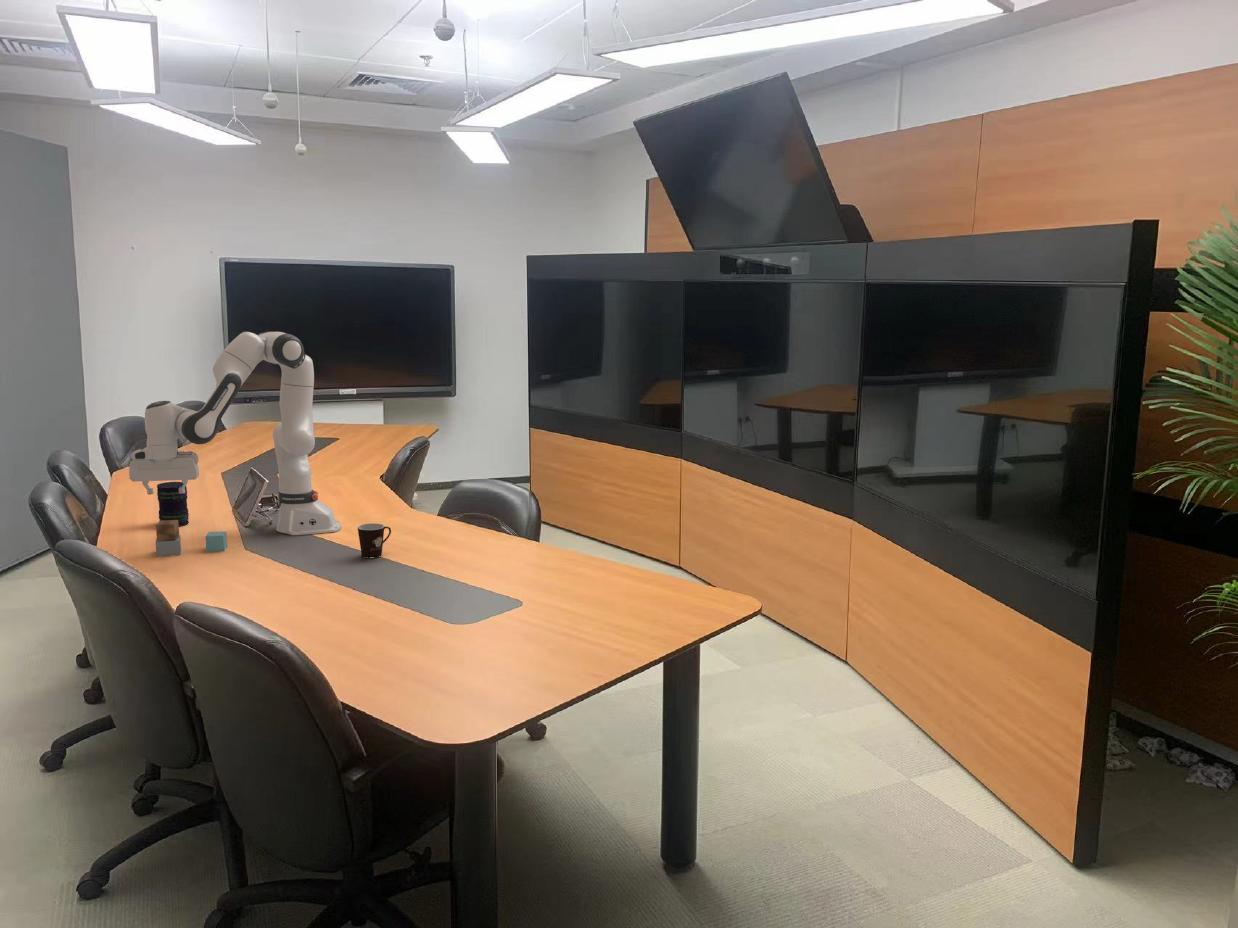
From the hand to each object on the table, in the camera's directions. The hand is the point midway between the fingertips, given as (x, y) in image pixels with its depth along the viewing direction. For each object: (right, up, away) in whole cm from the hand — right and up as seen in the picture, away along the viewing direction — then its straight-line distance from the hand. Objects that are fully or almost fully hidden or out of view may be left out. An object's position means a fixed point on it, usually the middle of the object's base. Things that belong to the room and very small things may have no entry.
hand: (166, 493), depth 293 cm
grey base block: (-1, -20, +3) cm, 20 cm away
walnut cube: (-1, -15, +3) cm, 15 cm away
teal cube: (+13, -19, +9) cm, 24 cm away
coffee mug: (+66, -21, +7) cm, 70 cm away
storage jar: (-16, -13, +38) cm, 43 cm away
